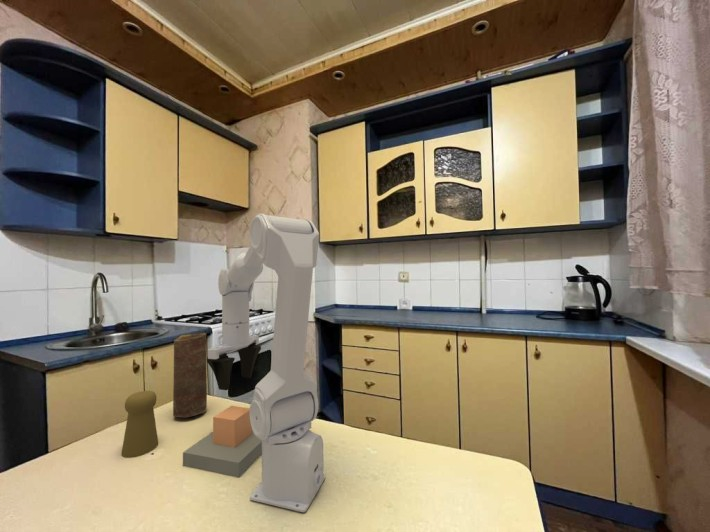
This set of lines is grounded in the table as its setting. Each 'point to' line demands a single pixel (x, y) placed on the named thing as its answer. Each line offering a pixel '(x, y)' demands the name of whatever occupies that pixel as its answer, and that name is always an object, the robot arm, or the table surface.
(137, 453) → the cork
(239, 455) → the grey square plate
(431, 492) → the table surface
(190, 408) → the candle
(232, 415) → the terracotta cube
